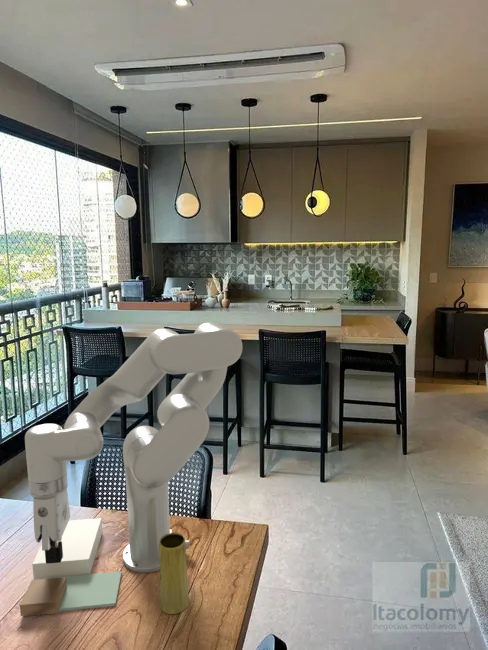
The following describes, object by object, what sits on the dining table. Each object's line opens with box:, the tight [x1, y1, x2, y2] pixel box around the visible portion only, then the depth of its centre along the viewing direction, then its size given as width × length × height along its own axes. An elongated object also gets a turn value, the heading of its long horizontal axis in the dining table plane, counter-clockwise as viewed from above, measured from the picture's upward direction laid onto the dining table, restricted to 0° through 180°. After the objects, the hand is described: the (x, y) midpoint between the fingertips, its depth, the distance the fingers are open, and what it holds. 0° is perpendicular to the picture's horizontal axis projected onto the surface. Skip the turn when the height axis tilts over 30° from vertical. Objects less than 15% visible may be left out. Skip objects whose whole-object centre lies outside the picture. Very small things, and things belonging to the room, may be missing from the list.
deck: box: [31, 517, 103, 580], centre depth 110 cm, size 12×16×4 cm
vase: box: [158, 532, 190, 615], centre depth 94 cm, size 6×6×14 cm
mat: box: [47, 570, 122, 612], centre depth 98 cm, size 16×10×1 cm, turn 97°
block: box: [19, 577, 67, 617], centre depth 95 cm, size 7×7×2 cm
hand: (54, 560), depth 101 cm, fingers closed
